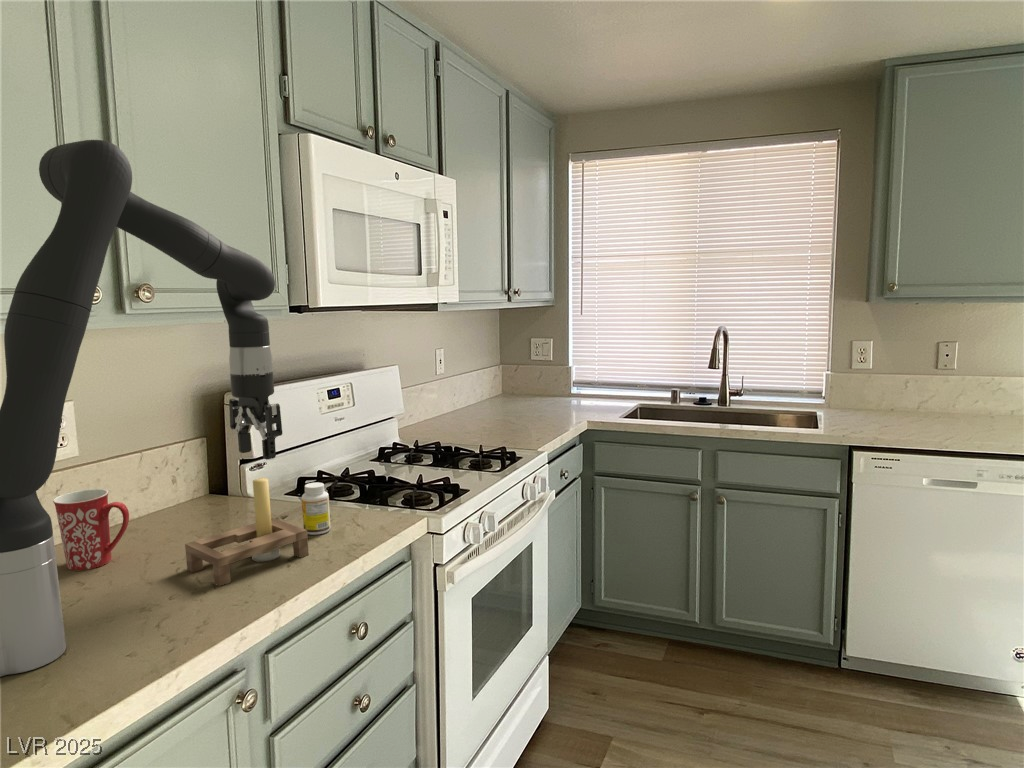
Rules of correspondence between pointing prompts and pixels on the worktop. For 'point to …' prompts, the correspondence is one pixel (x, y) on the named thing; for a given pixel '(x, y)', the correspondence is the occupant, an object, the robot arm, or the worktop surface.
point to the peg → (263, 517)
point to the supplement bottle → (316, 509)
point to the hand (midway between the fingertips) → (257, 455)
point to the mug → (87, 527)
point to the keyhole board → (243, 547)
